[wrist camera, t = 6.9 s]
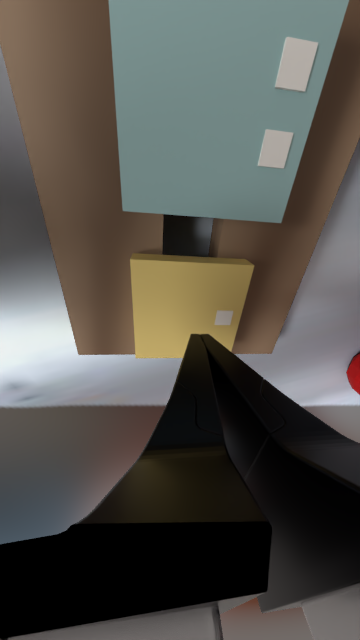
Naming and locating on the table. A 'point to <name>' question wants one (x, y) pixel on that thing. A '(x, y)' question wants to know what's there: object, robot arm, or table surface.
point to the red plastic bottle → (354, 373)
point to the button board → (105, 183)
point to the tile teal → (217, 101)
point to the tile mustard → (185, 301)
